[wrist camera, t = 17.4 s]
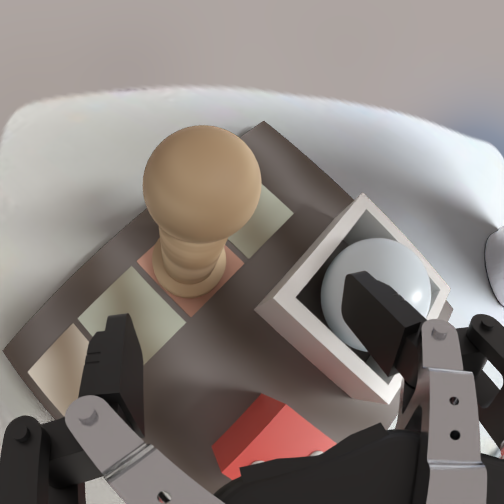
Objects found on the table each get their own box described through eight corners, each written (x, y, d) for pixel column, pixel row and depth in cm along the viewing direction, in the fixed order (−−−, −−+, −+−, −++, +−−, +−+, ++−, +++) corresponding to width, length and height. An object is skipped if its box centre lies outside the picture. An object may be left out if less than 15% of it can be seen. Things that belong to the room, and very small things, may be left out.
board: (259, 132, 25) (264, 120, 23) (441, 312, 23) (454, 308, 22) (13, 351, 15) (1, 350, 14) (255, 555, 14) (260, 566, 12)
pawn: (189, 217, 19) (211, 79, 9) (237, 264, 19) (311, 159, 9) (138, 262, 18) (101, 147, 7) (188, 313, 17) (207, 255, 7)
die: (261, 393, 17) (286, 404, 13) (313, 434, 17) (348, 451, 12) (211, 446, 15) (221, 473, 11) (266, 485, 15) (290, 515, 11)
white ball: (340, 239, 21) (394, 196, 15) (400, 301, 20) (466, 278, 15) (282, 308, 18) (331, 284, 13) (354, 374, 18) (421, 375, 12)
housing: (334, 218, 22) (362, 192, 18) (414, 300, 21) (450, 288, 18) (253, 309, 18) (272, 298, 15) (352, 398, 18) (388, 404, 14)
